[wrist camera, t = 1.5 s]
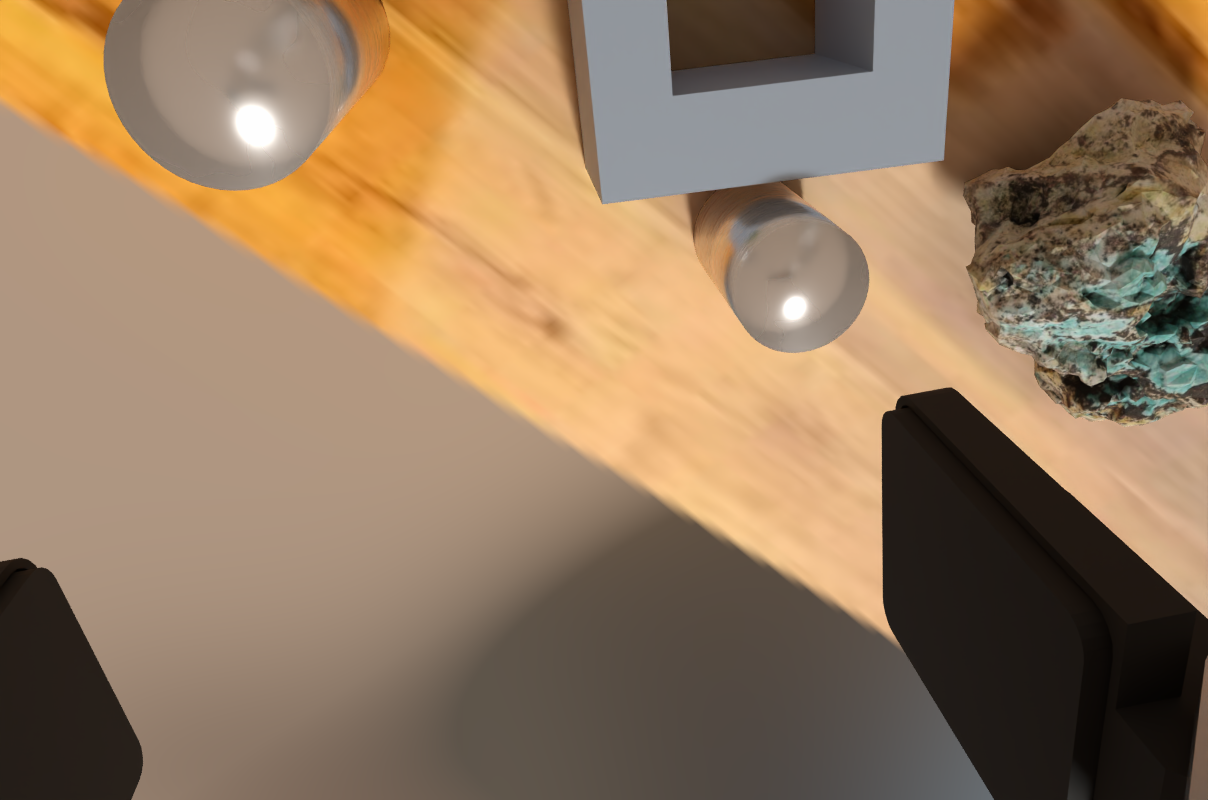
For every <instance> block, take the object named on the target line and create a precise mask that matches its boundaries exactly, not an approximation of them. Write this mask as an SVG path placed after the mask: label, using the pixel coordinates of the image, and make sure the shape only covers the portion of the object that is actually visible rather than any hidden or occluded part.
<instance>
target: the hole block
mask: <svg viewBox="0 0 1208 800" xmlns="http://www.w3.org/2000/svg"><path fill="white" fill-rule="evenodd" d="M567 1H568V10H569V19H570V29H571V38H572V47H573V57H574V66H575V75H576V84H577V94H578V103H579V112H580V121H581V131H582V140H583V149H584V158H585V167H586V170H587V172H588V174H589V176H590V178H591V180H592V183H593V185H594V187H595V189H596V191H597V193H598V196H599V198H600V200H601V202H602V204H608V203H616V202H624V201H631V200H639V199H647V198H655V197H663V196H670V195H678V194H686V193H694V192H701V191H709V190H717V189H725V188H733V187H740V186H748V185H756V184H764V183H771V182H779V181H787V180H795V179H802V178H810V177H818V176H826V175H834V174H841V173H849V172H857V171H865V170H872V169H880V168H888V167H896V166H904V165H911V164H919V163H927V162H935V161H942V160H944V149H945V134H946V119H947V103H948V88H949V73H950V58H951V42H952V27H953V12H954V0H815V54H808V55H800V56H791V57H783V58H775V59H767V60H758V61H750V62H742V63H733V64H725V65H717V66H708V67H700V68H692V69H684V70H675V71H671V63H670V47H669V31H668V15H667V0H567Z"/></svg>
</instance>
